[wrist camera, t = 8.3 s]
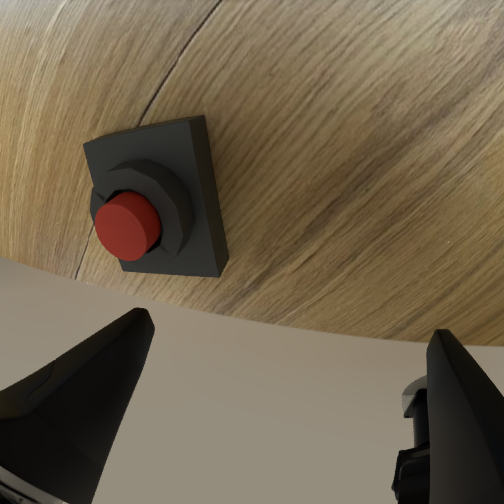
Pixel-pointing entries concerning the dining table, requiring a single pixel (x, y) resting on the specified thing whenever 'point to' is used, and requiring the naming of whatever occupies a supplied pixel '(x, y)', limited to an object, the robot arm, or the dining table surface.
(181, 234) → the button block
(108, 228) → the button
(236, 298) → the dining table surface
